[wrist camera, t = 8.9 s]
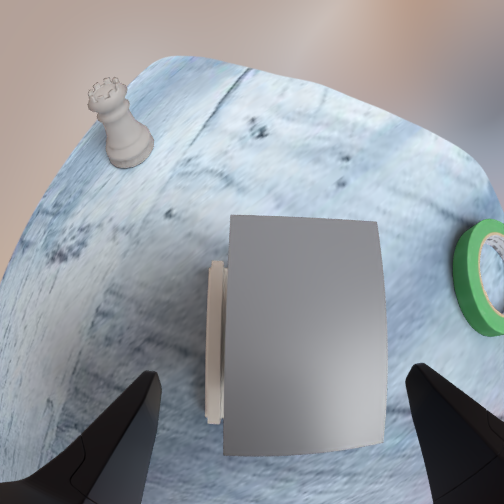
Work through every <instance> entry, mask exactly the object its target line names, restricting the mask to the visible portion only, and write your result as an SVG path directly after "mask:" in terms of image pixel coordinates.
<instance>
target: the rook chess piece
mask: <svg viewBox="0 0 504 504" xmlns="http://www.w3.org/2000/svg"><path fill="white" fill-rule="evenodd" d="M112 81H113V82H111V80H110V78H105V79H104V83H105V84H103V85H101V86H100V85H99V83H98V82H97V83H96V84H94V85H93V88H94V91H93V90H89V92H88V96H89V102H88V108H89V110H91V111H93V112H97V113H98V114H97V119H98V121H100V122H102V123H103V125H104V127H105V130H106V134H107V139H106V142H107V143H106V152H107V155H108V157H109V159H110V162H111V163H112V164H113V165H115V166H116V167H120V168H130V167H135V166H137V165H139V164H141V163H142V162H143V161H144V160H145V159H146V158H147V157H148V156H149V155H150V153H151V151H152V149H153V147H154V139H153V137H152V135H151V133H150V131H149V129H148V128H147V127H146V126H145V125H143V124H141V123H140V122H138V121H137V120H135V118H134V117H133V115H132V113H131V112H130V110H129V105H130V103H129V101H128V100H127V99H125V96H126V93H127V87H126V85H124V84H122V83H120V82H119V80H118V78H115V77H114V78H113V79H112Z"/></svg>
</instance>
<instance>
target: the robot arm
mask: <svg viewBox="0 0 504 504" xmlns="http://www.w3.org/2000/svg"><path fill="white" fill-rule="evenodd" d="M405 384H406V389H407V394H408V399H409V404H410V409H411V414H412V418H413V422H414V426H415V429H416V433H417V436H418V440H419V443H420V447H421V451H422V455H423V459H424V463H425V467H426V471H427V475H428V480H429V484H430V489H431V494H432V499H433V504H504V422H503V421H501V420H500V419H499V418H497V417H496V416H494V415H493V414H492V413H490V412H489V411H488V410H487V411H486V409H485V408H484V407H482V406H481V405H480V404H479V403H477V402H476V401H475V400H473V399H472V398H471V397H469V396H468V395H467V394H465V393H464V392H463V391H461V390H460V389H459V388H457V387H456V386H455V385H453V384H452V383H451V382H449V381H448V380H447V379H445V378H444V377H442V376H441V375H440V374H438V373H437V372H436V371H434V370H433V369H432V368H430V367H429V366H428V365H426V364H425V363H417V364H414V365H413V366H412V368H411V370H410V372H409V374H408V375H407V377H406V381H405ZM161 393H162V388H161V384H160V380H159V377H158V374H157V372H155V371H147V370H146V371H144V372H143V373H142V374H141V375H140V376H139V377H138V378H137V379H136V380H135V381H134V382H133V383H132V384H131V385H130V386H129V387H128V388H127V389H126V390H125V391H124V392H123V393H122V394H121V395H120V396H119V397H118V398H117V399H116V400H115V401H114V402H113V403H112V404H111V405H110V406H109V407H108V408H107V409H106V410H105V411H104V412H103V413H102V414H101V415H100V416H99V417H98V418H97V419H96V420H95V421H94V422H93V423H92V424H91V425H90V426H89V427H88V428H87V429H86V430H85V431H84V432H83V433H82V434H81V435H80V436H79V437H78V438H76V439H75V440H74V441H73V442H72V443H71V444H70V445H69V446H68V447H67V448H66V449H65V450H64V451H63V452H61V453H60V454H59V455H58V456H56V457H55V458H54V459H53V460H51V461H50V462H49V463H47V464H46V465H45V466H43V467H42V468H41V469H39V470H38V471H36V472H35V473H34V474H32V475H31V476H29V477H27V478H25V479H22V480H19V481H12V482H3V483H0V504H141V501H142V496H143V491H144V487H145V482H146V477H147V473H148V468H149V464H150V459H151V455H152V450H153V446H154V442H155V438H156V433H157V427H158V418H159V410H160V401H161Z"/></svg>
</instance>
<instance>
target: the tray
mask: <svg viewBox="0 0 504 504" xmlns="http://www.w3.org/2000/svg"><path fill="white" fill-rule="evenodd" d="M227 277H228V268H225V267H224V263H223V261H212V266H211V268H209V277H208V299H207V326H206V367H205V417H208V424H220V422H221V419H222V418H224V367H225V331H226V302H227Z"/></svg>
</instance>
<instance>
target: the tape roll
mask: <svg viewBox="0 0 504 504" xmlns="http://www.w3.org/2000/svg"><path fill="white" fill-rule="evenodd" d="M484 243H485V244H488V245H490V246H492V247H493V248H494V249H495V250H496V251H497V252H498V253H499V254H500V256H501V257H502V259H503V261H504V224H503V223H501V222H500V221H497V220H494V219H485V220H482V221H480V222H479V223H477V224H476V225H474V226H473V227H471V228H470V229H468V230H467V231H466V232H464V233H463V235H462V236H461V237H460V239H459V240H458V243H457V245H456V248H455V252H454V257H453V281H454V288H455V292H456V296H457V300H458V303H459V306H460V308H461V311H462V313H463V315H464V316H465V318H466V320H467V321H468V323H469V324H470V325H471V327H472V328H473V329H474V330H476V331H477V332H478V333H480V334H481V335H484V336H488V337H493V336H500V335H504V312H503V313H502V314H501V313H500V312H498V311H497V310H496V309H495V308H494V307H493V305H492V304H491V302H490V301H489V298H488V296H487V293H486V291H485V290H484V287H483V283H482V279H481V273H480V255H481V250H482V246H483V244H484Z"/></svg>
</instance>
